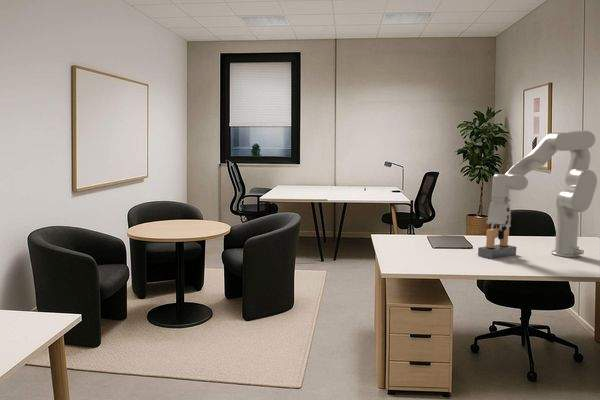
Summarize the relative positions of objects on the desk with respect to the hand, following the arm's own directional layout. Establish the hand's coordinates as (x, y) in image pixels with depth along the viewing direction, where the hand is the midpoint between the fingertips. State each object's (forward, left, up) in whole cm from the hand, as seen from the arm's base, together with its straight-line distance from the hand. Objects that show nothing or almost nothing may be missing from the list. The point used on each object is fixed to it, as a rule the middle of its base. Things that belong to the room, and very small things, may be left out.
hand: (497, 238), depth 270 cm
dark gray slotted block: (0, 0, -8) cm, 8 cm away
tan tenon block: (0, 0, -4) cm, 4 cm away
